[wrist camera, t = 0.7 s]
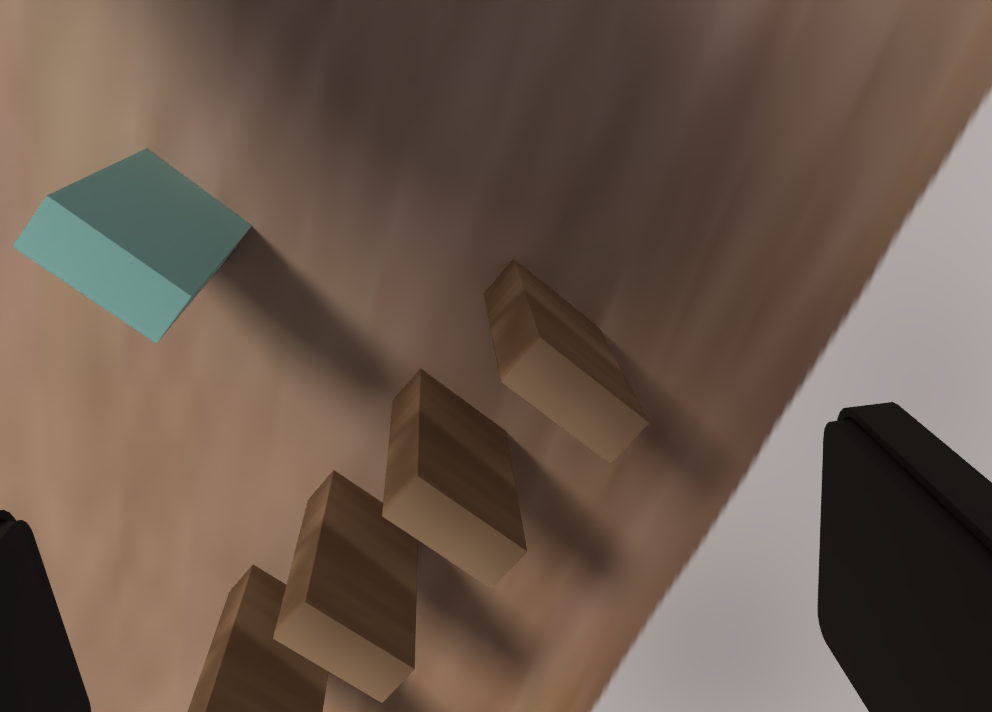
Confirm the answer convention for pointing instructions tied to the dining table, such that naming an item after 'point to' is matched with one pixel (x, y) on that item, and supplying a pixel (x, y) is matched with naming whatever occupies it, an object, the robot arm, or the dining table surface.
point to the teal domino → (134, 240)
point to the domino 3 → (452, 481)
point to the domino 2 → (352, 590)
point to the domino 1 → (256, 657)
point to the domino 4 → (561, 363)
